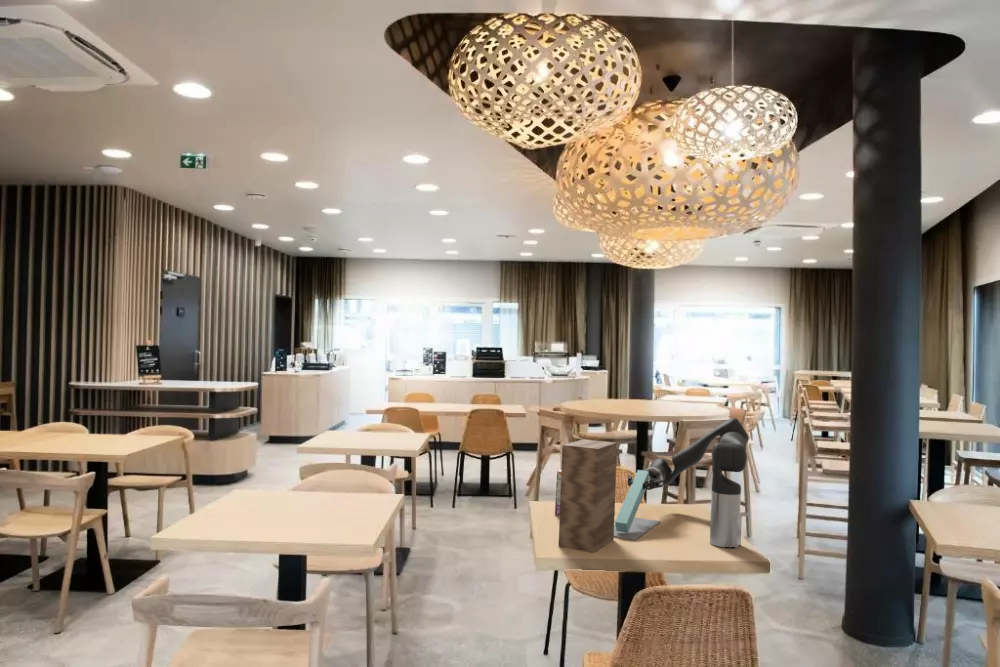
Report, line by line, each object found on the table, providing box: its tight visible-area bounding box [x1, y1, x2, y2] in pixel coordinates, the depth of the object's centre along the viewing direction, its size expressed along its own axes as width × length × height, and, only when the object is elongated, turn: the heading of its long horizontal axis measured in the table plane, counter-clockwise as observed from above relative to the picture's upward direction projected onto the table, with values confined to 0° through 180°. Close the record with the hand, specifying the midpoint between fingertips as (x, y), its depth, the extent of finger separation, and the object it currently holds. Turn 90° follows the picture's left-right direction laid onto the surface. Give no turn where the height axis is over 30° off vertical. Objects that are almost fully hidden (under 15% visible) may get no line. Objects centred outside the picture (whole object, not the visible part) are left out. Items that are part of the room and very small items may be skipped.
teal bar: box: [614, 469, 649, 533], centre depth 255 cm, size 4×28×4 cm, turn 152°
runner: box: [614, 516, 661, 542], centre depth 255 cm, size 12×30×1 cm, turn 152°
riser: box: [558, 438, 618, 553], centre depth 234 cm, size 12×18×32 cm, turn 152°
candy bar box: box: [554, 469, 561, 516], centre depth 272 cm, size 11×5×16 cm, turn 84°
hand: (637, 485), depth 259 cm, fingers closed on teal bar, 3 cm apart
